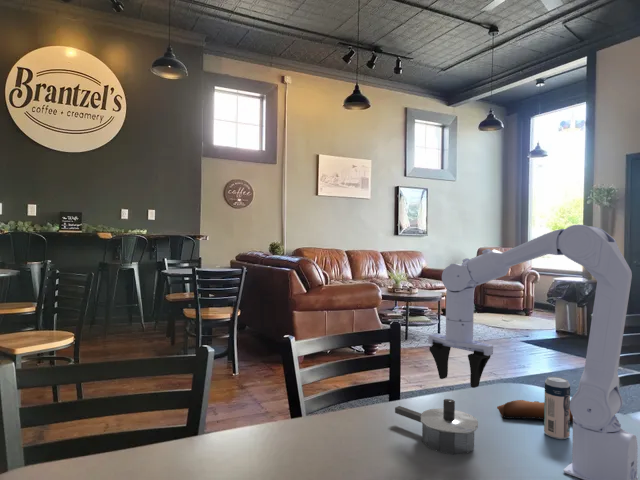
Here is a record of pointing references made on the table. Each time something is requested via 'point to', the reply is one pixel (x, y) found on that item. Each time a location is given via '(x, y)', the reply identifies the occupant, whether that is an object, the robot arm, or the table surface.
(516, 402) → the sunglasses case
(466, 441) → the saucepan
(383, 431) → the table surface
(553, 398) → the white labeled canister
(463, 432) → the lid
